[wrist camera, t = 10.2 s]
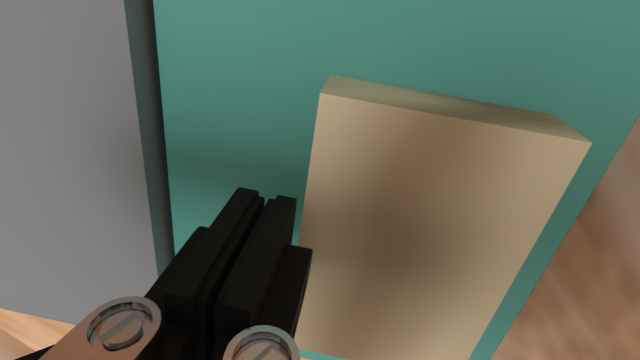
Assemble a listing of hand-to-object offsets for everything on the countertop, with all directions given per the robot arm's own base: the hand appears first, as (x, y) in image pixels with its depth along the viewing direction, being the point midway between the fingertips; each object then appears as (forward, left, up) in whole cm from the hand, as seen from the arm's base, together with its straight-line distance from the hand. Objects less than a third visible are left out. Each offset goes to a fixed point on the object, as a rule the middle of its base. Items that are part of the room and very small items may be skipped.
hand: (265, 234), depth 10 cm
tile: (-4, 0, -2) cm, 4 cm away
